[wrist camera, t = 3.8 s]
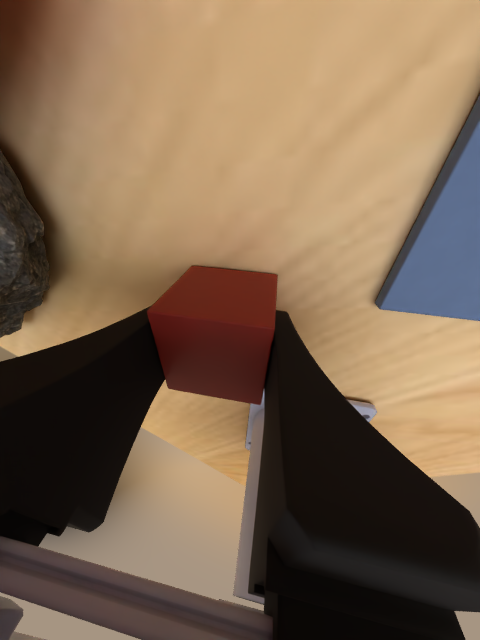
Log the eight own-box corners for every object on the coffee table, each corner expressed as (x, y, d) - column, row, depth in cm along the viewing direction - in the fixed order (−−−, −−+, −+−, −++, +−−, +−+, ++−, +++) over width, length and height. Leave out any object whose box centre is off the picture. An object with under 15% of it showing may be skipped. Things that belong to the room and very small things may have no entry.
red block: (267, 340, 11) (261, 406, 8) (198, 331, 12) (167, 389, 9) (277, 274, 9) (275, 328, 6) (192, 265, 9) (145, 310, 6)
